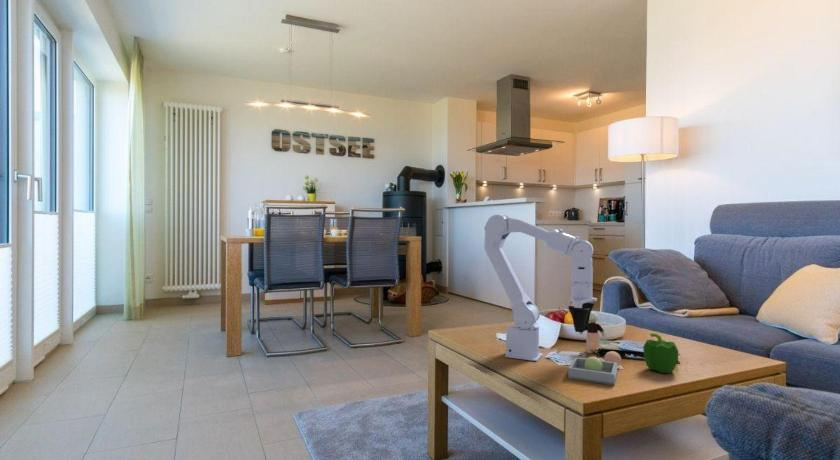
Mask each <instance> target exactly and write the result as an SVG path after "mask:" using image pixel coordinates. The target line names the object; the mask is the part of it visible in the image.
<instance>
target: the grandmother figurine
mask: <svg viewBox="0 0 840 460" xmlns="http://www.w3.org/2000/svg"><path fill="white" fill-rule="evenodd" d="M598 316H599V315H598V313H597V312H596V311H591V313H590V318H589V323H588V326H587V327H585V328H584V331H583V333H584V332H585V331H586V350H585V351H586V352H587V353H589V354H593V352H594V353H595V354H598V353H597V350H598V349H599V348H600V349H601V344H600V334H601V336H602V337H604V338H605V337H606V336H607V335H606V333H605V331H604V328H603V327H602V326H601V325H600V324H599V323H596V322H597V320H598V318H599V317H598ZM599 332H600V334H599ZM583 333H582V332H578V334H579V335H583ZM593 350H594V351H593Z"/></svg>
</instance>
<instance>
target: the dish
mask: <svg viewBox="0 0 840 460" xmlns="http://www.w3.org/2000/svg"><path fill="white" fill-rule="evenodd" d="M587 359H588V358H585V357H584V358H583V357H576V356H575V357H573V359H572V361H571V362H570V364H569V366H568V367H567V368H568V369H567V373H568V375H567V379H568V380H575V381H580V382H587V383H593V384H599V385H608V386H615V384H616V380H617V376H618V367H617V363H616V362H608V361H605V360H600V361H601V362H602V366H603V367H602V370H601V372H600V371H593V370H586V368H585V361H586V360H587Z"/></svg>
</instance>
